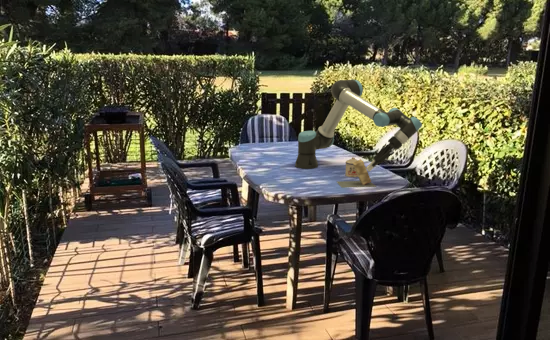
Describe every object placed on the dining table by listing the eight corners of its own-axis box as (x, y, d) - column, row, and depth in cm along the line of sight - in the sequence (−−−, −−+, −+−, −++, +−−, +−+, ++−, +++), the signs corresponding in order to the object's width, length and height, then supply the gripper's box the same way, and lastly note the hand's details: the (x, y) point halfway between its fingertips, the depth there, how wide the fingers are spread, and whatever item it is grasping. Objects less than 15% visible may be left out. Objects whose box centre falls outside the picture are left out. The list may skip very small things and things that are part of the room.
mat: (369, 181, 258) (369, 180, 258) (376, 187, 246) (376, 186, 246) (336, 182, 256) (336, 181, 256) (341, 188, 244) (341, 187, 244)
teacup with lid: (347, 178, 266) (348, 159, 263) (343, 174, 275) (343, 156, 272) (366, 177, 268) (367, 158, 265) (361, 174, 276) (362, 155, 274)
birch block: (368, 179, 254) (360, 159, 250) (371, 181, 249) (363, 161, 246) (360, 182, 254) (352, 162, 250) (363, 185, 249) (354, 164, 246)
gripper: (406, 146, 241) (375, 177, 244) (397, 142, 254) (368, 171, 256) (398, 137, 240) (366, 168, 242) (389, 133, 252) (359, 162, 254)
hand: (367, 169), depth 249 cm, fingers closed
